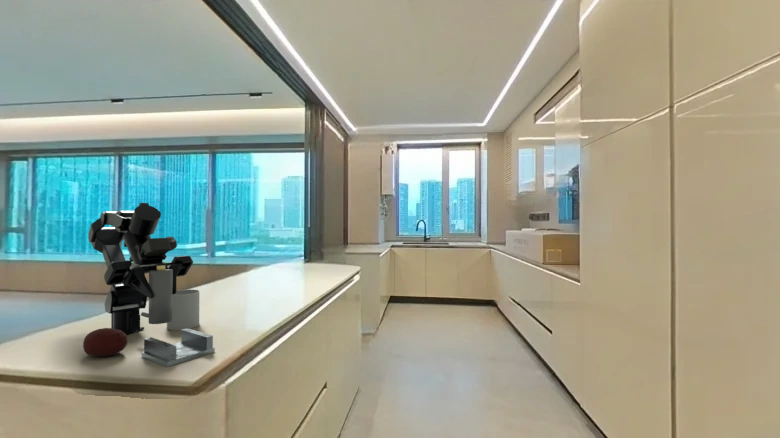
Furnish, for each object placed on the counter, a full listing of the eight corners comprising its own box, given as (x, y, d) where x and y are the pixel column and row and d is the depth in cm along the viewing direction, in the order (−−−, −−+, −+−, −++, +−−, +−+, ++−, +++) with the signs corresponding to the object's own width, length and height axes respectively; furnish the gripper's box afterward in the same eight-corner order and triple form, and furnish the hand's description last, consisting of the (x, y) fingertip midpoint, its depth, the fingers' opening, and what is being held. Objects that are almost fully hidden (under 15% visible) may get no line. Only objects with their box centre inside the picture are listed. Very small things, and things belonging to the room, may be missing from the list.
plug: (131, 318, 95) (131, 264, 95) (152, 313, 99) (152, 262, 99) (155, 325, 88) (155, 267, 88) (176, 320, 93) (176, 265, 93)
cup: (184, 330, 106) (185, 295, 106) (160, 329, 108) (160, 294, 108) (205, 322, 114) (205, 290, 114) (181, 321, 116) (182, 289, 116)
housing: (141, 356, 86) (141, 339, 86) (189, 343, 95) (189, 327, 95) (166, 367, 80) (166, 348, 80) (214, 351, 89) (214, 335, 89)
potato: (102, 348, 92) (102, 323, 92) (137, 351, 90) (137, 325, 90) (71, 359, 84) (71, 332, 84) (108, 362, 82) (108, 335, 82)
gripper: (109, 227, 86) (132, 279, 80) (189, 225, 102) (213, 269, 96) (95, 259, 90) (115, 310, 84) (174, 253, 106) (195, 296, 100)
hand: (163, 295), depth 91 cm, fingers closed on plug, 5 cm apart
